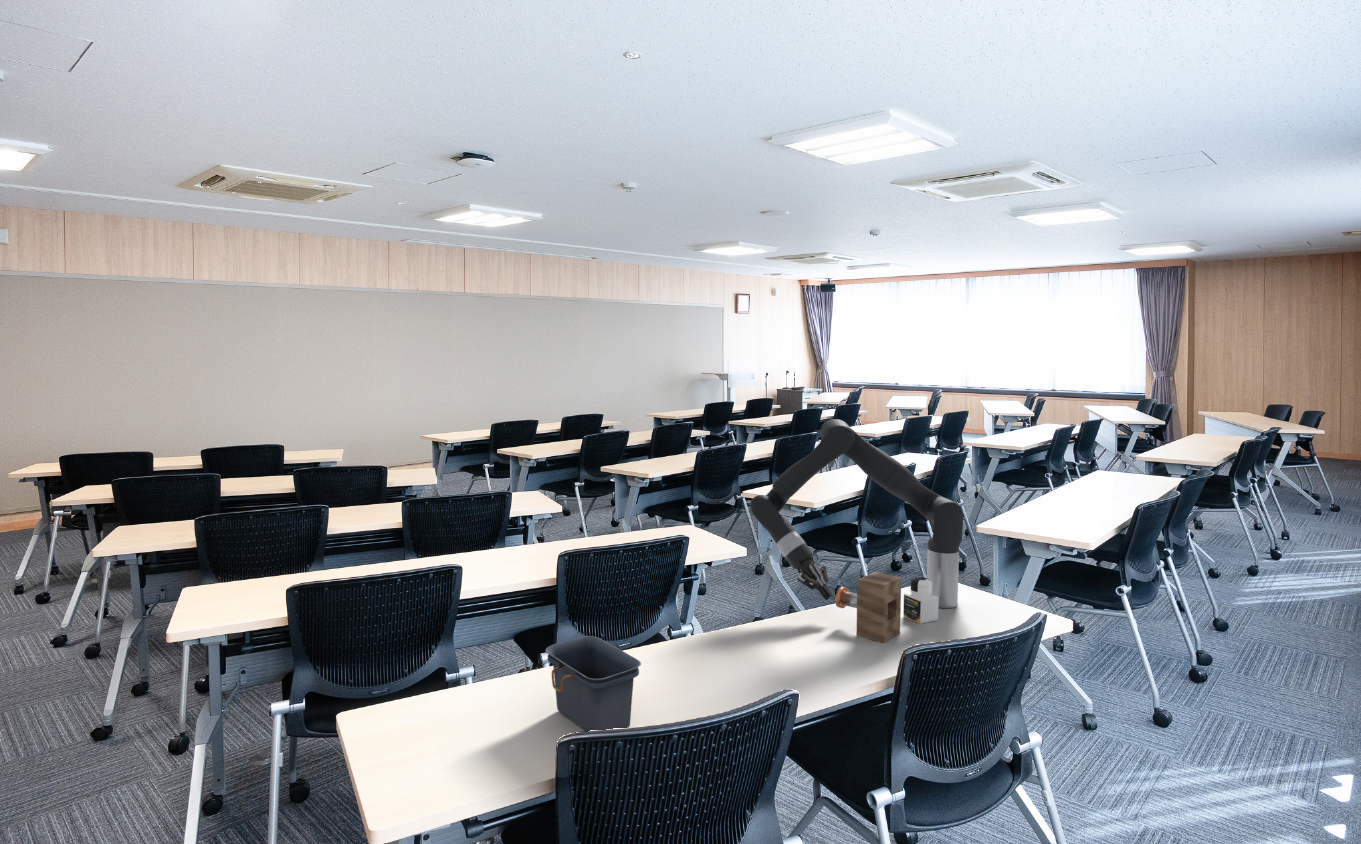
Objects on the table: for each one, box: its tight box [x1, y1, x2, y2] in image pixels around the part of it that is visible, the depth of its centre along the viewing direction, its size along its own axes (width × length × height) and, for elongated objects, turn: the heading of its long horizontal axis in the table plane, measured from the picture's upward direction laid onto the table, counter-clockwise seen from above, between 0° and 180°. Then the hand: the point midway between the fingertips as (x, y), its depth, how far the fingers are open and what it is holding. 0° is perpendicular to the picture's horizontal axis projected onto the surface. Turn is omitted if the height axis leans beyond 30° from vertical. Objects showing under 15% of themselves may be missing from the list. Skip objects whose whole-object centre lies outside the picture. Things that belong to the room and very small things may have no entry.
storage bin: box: [545, 635, 642, 732], centre depth 158 cm, size 21×16×14 cm
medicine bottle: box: [902, 576, 939, 625], centre depth 220 cm, size 7×7×12 cm
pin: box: [834, 586, 857, 609], centre depth 211 cm, size 6×13×6 cm, turn 47°
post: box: [855, 571, 902, 644], centre depth 207 cm, size 10×8×16 cm
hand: (829, 598), depth 218 cm, fingers closed
